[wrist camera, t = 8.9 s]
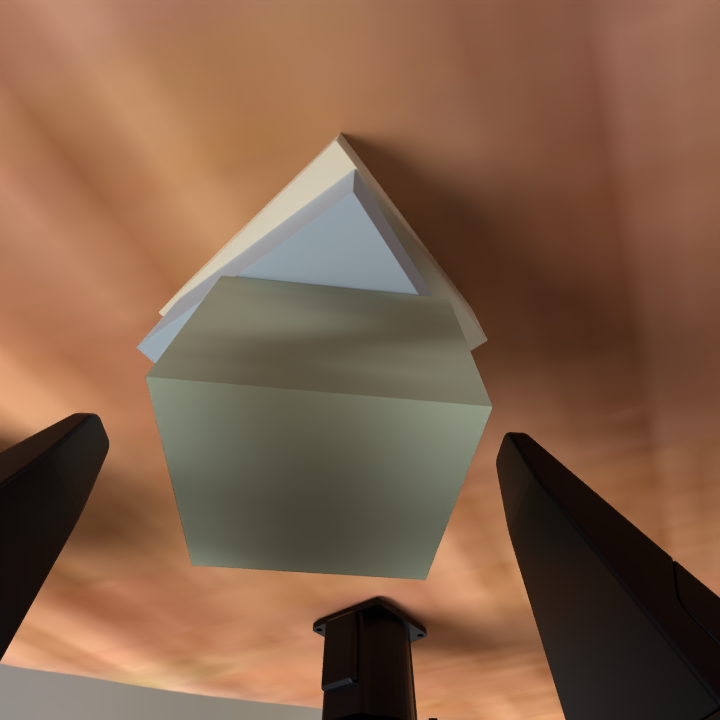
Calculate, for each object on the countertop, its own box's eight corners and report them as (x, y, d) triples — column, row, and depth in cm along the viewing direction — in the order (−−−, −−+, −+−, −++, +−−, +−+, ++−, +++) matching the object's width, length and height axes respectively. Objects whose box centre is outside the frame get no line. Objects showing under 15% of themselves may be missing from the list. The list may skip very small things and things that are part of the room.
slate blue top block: (465, 348, 14) (488, 403, 12) (309, 429, 16) (300, 489, 14) (354, 168, 11) (352, 191, 8) (178, 298, 13) (136, 347, 11)
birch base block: (469, 303, 16) (487, 340, 14) (325, 398, 19) (320, 443, 17) (341, 131, 13) (336, 140, 11) (190, 278, 16) (158, 312, 13)
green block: (449, 298, 10) (492, 406, 6) (409, 453, 13) (425, 580, 10) (221, 275, 9) (145, 376, 6) (237, 439, 13) (191, 565, 9)
